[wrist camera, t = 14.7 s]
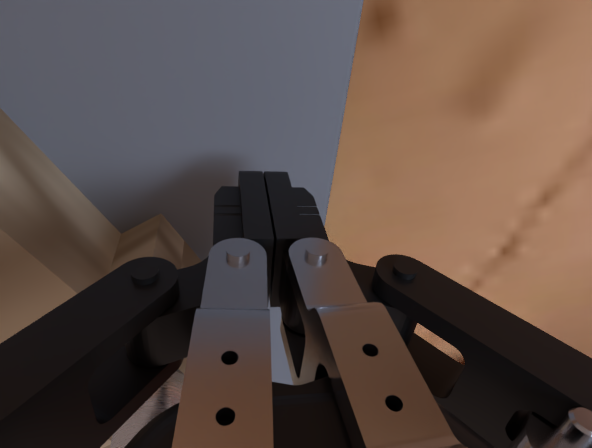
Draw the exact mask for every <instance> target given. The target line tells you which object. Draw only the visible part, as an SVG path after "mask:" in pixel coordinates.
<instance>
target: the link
mask: <svg viewBox="0 0 592 448" xmlns="http://www.w3.org/2000/svg"><path fill="white" fill-rule="evenodd" d="M142 257H159V258H163V259H166V260H168V261H170V262H171V263H173V264H174V265H175V267H176V268H177V269H181V268H186V267H189V266H193V265H195V264H198V263H199V262H201V260H200V258H199V257H198V256H197V255H196V254H195V253H194V251H193V250H192V249H191V248H190V247H189V245H188V244H187V243H186V242H185V241H184V240H183V238H182V237H181V236H180V235H179V234H178V233H177V231H176V230H175V229H174V228H173V227H172V225H171V224H170V223H169V222H168V221H167V220H166V218H165V217H164V216H163V215H162V214H159V215H157V216H155V217H153V218H151V219H149V220H147V221H145V222H143V223H141V224H139V225H138V226H136V227H134V228H132V229H130V230H128V231H126V232H124V233H122V234H121V233H120V232H119V231H118V230H117V229H116V228H115V227H114V226H113V225H112V224H111V223H110V222H109V221H108V220H107V218H106V217H105V216H104V215H103V214H102V213H101V212H100V211H99V210H98V209H97V208H96V207H95V206H94V205H93V204H92V203H91V202H90V201H89V200H88V199H87V198H86V197H85V196H84V195H83V194H82V192H81V191H80V190H79V189H78V188H77V187H76V186H75V185H74V184H73V183H72V182H71V181H70V180H69V179H68V178H67V177H66V176H65V175H64V174H63V173H62V172H61V171H60V170H59V169H58V167H57V166H56V165H55V164H54V163H53V162H52V161H51V160H50V159H49V158H48V157H47V156H46V155H45V154H44V153H43V152H42V151H41V150H40V149H39V148H38V147H37V146H36V145H35V144H34V143H33V141H32V140H31V139H30V138H29V137H28V136H27V135H26V134H25V133H24V132H23V131H22V130H21V129H20V128H19V127H18V126H17V125H16V124H15V123H14V122H13V121H12V120H11V119H10V118H9V117H8V115H7V114H6V113H5V112H4V111H3V110H2V109H1V108H0V343H2V342H4V341H5V340H7V339H8V338H10V337H11V336H13V335H14V334H16V333H17V332H19V331H21V330H22V329H24V328H25V327H27V326H28V325H30V324H31V323H33V322H35V321H36V320H38V319H39V318H41V317H42V316H44V315H45V314H47V313H48V312H50V311H52V310H53V309H55V308H56V307H58V306H59V305H61V304H62V303H64V302H65V301H67V300H69V299H70V298H72V297H73V296H75V295H76V294H78V293H79V292H81V291H82V290H84V289H86V288H87V287H89V286H90V285H92V284H93V283H95V282H96V281H98V280H100V279H101V278H103V277H104V276H106V275H107V274H109V273H110V272H112V271H113V270H115V269H117V268H118V267H120V266H121V265H123V264H125V263H126V262H128V261H131V260H133V259H137V258H142ZM186 362H187V357H186V358H184V359H183V362H182V364H181V366H180V367H179V370H180V371H181V372H182V373H183V374H185V368H186ZM111 440H112V436H111V437H110V438H109V439H108V440H107V441H106V442H105V443H104V444H103V445H102V446H101V447H100V448H110V445H111Z"/></svg>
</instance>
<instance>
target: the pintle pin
mask: <svg viewBox="0 0 592 448" xmlns="http://www.w3.org/2000/svg"><path fill="white" fill-rule="evenodd" d="M183 380H184V374H183V373H182V372H181V371H180V370H179V369H178V370H177V371H176V372H175V373H174V374H173V375H172V376H171V377H170V378H169V379H168V380H167V381H166V382H165V383H164V384H163V385H162V386H161V387H160V388H159V389H158V390H157V391H156V392H155V393H154V394H153V395H152V396H151V397H150V398H149V399H148V400H147V401H146V402H145V403H144V404H143V405H142V406H141V407H140V408H139V409H138V410H137V411H136V412H135V413H134V414H133V415H132V416H131V417H130V418H129V419H128V420H127V421H126V422H125V423H124V424H123V425H122V426H121V427H120V428H119V429H118V430H117V431H116V432H115V433H114V434H113V435H112V440H111V445H110V448H124V447H125V446H126V445H127V444H128V443H129V442H130V440H131V439H132V438H133V437H134V436H135V435H136V434H137V433H138V432H139V431H140V430H141V429H142V428H143V427H144V426H145V425H146V424H147V423H149V422H150V421H151V420H152V419H153V418H155V417H156V416H158V415H159V414H160V413H162V412H163V411H165V410H166V409H168V408H170V407H172V406H173V405H175V404H177V403H180V397H181V391H182V385H183Z"/></svg>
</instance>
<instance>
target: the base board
mask: <svg viewBox="0 0 592 448" xmlns="http://www.w3.org/2000/svg"><path fill="white" fill-rule="evenodd" d="M362 5H363V0H0V108H1V109H2V110H3V111H4V112H5V113H6V114H7V115H8V117H9V118H10V119H11V120H12V121H13V122H14V123H15V124H16V125H17V126H18V127H19V128H20V129H21V130H22V131H23V132H24V133H25V134H26V135H27V136H28V137H29V138H30V139H31V140H32V141H33V143H34V144H35V145H36V146H37V147H38V148H39V149H40V150H41V151H42V152H43V153H44V154H45V155H46V156H47V157H48V158H49V159H50V160H51V161H52V162H53V163H54V164H55V165H56V166H57V167H58V169H59V170H60V171H61V172H62V173H63V174H64V175H65V176H66V177H67V178H68V179H69V180H70V181H71V182H72V183H73V184H74V185H75V186H76V187H77V188H78V189H79V190H80V191H81V192H82V194H83V195H84V196H85V197H86V198H87V199H88V200H89V201H90V202H91V203H92V204H93V205H94V206H95V207H96V208H97V209H98V210H99V211H100V212H101V213H102V214H103V215H104V216H105V217H106V218H107V220H108V221H109V222H110V223H111V224H112V225H113V226H114V227H115V228H116V229H117V230H118V231H119V232H120V233H121V234H122V233H124V232H126V231H128V230H130V229H132V228H134V227H136V226H138V225H139V224H141V223H143V222H145V221H147V220H149V219H151V218H153V217H155V216H157V215H159V214H162V215H163V216H164V217H165V218H166V220H167V221H168V222H169V223H170V224H171V225H172V227H173V228H174V229H175V230H176V231H177V233H178V234H179V235H180V236H181V237H182V238H183V240H184V241H185V242H186V243H187V244H188V245H189V247H190V248H191V249H192V250H193V251H194V253H195V254H196V255H197V256H198V257H199V258H200V260H201V261H203V260H204V259H206V258H207V257H208V256H209V252H210V250H211V248H212V247H213V222H214V195H215V193H216V192H217V191H218V190H219V189H220V187H221V186H238V174H239V171H262V172H263V173H264V171H279V172H288V175H289V179H290V182H291V186H292V187H304V188H305V189H306V190H307V191H308V192H309V193H311V194H312V195H313V196H314V199H315V202H316V205H317V208H318V211H319V216H320V217H321V219H322V222H323V225H325V220H326V214H327V208H328V202H329V196H330V191H331V185H332V179H333V173H334V167H335V162H336V156H337V150H338V144H339V139H340V133H341V127H342V121H343V115H344V110H345V104H346V98H347V92H348V86H349V81H350V75H351V69H352V63H353V58H354V52H355V46H356V40H357V34H358V29H359V23H360V17H361V11H362ZM268 309H269V310H270V329H271V368H272V382H277V383H283V384H289V385H293V382H292V378H291V373H290V369H289V365H288V361H287V357H286V353H285V349H284V345H283V341H282V337H281V332H280V323H281V308H280V307H270V300H269V302H268Z"/></svg>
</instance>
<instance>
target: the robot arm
mask: <svg viewBox="0 0 592 448" xmlns="http://www.w3.org/2000/svg"><path fill="white" fill-rule="evenodd" d="M269 300H270V307H280V308H281V323H280V332H281V337H282V341H283V345H284V349H285V353H286V357H287V361H288V365H289V369H290V373H291V378H292V382H293V385H289V384H283V383H277V382H272V368H271V329H270V310H269V309H268V302H269ZM417 323H419V324H420V325H422V326H424V327H425V328H427V329H428V330H430V331H431V332H433V333H434V334H436V335H437V336H439V337H440V338H442V339H443V340H445V341H446V342H448V343H449V344H451V345H453V346H454V347H455V348H457V349H458V350H459V351H460V352H461V354H462V355H463V357H464V360H465V365H463V364H460V363H458V362H457V361H455V360H454V359H452V358H451V357H449V356H448V355H446V354H445V353H443V352H442V351H440V350H439V349H437V348H436V347H434V346H433V345H431V344H430V343H428V342H427V341H425V340H424V339H422V338H421V337H419V336H418V335H416V334H415V333H414V330H415V327H416V325H417ZM186 357H187V362H186V368H185V374H184V380H183V385H182V391H181V397H180V403H177V404H175V405H173V406H172V407H170V408H168V409H166V410H165V411H163V412H162V413H160V414H159V415H158V416H156V417H155V418H153V419H152V420H151V421H150V422H149V423H147V424H146V425H145V426H144V427H143V428H142V429H141V430H140V431H139V432H138V433H137V434H136V435H135V436H134V437H133V438H132V439H131V440H130V442H129V443H128V444H127V445H126V446H125V447H124V448H592V358H590V357H588V356H586V355H585V354H583V353H581V352H579V351H578V350H576V349H574V348H572V347H571V346H569V345H567V344H565V343H563V342H562V341H560V340H558V339H556V338H555V337H553V336H551V335H549V334H547V333H546V332H544V331H542V330H540V329H539V328H537V327H535V326H533V325H532V324H530V323H528V322H526V321H524V320H523V319H521V318H519V317H517V316H516V315H514V314H512V313H510V312H508V311H507V310H505V309H503V308H501V307H500V306H498V305H496V304H494V303H493V302H491V301H489V300H487V299H485V298H484V297H482V296H480V295H478V294H477V293H475V292H473V291H471V290H469V289H468V288H466V287H464V286H462V285H461V284H459V283H457V282H455V281H454V280H452V279H450V278H448V277H446V276H445V275H443V274H441V273H439V272H438V271H436V270H434V269H432V268H430V267H429V266H427V265H425V264H423V263H422V262H420V261H418V260H416V259H414V258H411V257H408V256H405V255H396V254H395V255H387V256H384V257H382V258H381V259H380V260H379V261H378V262H377V265H376V268H375V267H371V266H366V265H361V264H357V263H353V262H350V261H348V260H346V259H345V257H344V255H343V253H342V251H341V249H340V248H339V247H338V246H336V245H335V244H334V243H332V242H330V241H329V240H328V237H327V234H326V231H325V228H324V225H323V222H322V219H321V217H320V216H319V211H318V208H317V205H316V202H315V199H314V196H313V195H312V194H311V193H309V192H308V191H307V190H306V189H305V188H304V187H292V186H291V182H290V179H289V175H288V172H279V171H264V173H263V172H262V171H239V174H238V186H221V187H220V189H219V190H218V191H217V192H216V193H215V195H214V222H213V247H212V248H211V250H210V252H209V256H208V257H207V258H206V259H204V260H203V261H201V262H199V263H198V264H195V265H193V266H189V267H186V268H181V269H177V268H176V267H175V265H174V264H173V263H171V262H170V261H168V260H166V259H163V258H159V257H142V258H137V259H133V260H131V261H128V262H126V263H125V264H123V265H121V266H120V267H118V268H117V269H115V270H113V271H112V272H110V273H109V274H107V275H106V276H104V277H103V278H101V279H100V280H98V281H96V282H95V283H93V284H92V285H90V286H89V287H87V288H86V289H84V290H82V291H81V292H79V293H78V294H76V295H75V296H73V297H72V298H70V299H69V300H67V301H65V302H64V303H62V304H61V305H59V306H58V307H56V308H55V309H53V310H52V311H50V312H48V313H47V314H45V315H44V316H42V317H41V318H39V319H38V320H36V321H35V322H33V323H31V324H30V325H28V326H27V327H25V328H24V329H22V330H21V331H19V332H17V333H16V334H14V335H13V336H11V337H10V338H8V339H7V340H5V341H4V342H2V343H0V448H100V447H101V446H102V445H103V444H104V443H105V442H106V441H107V440H108V439H109V438H110V437H111V436H112V435H113V434H114V433H115V432H116V431H117V430H118V429H119V428H120V427H121V426H122V425H123V424H124V423H125V422H126V421H127V420H128V419H129V418H130V417H131V416H132V415H133V414H134V413H135V412H136V411H137V410H138V409H139V408H140V407H141V406H142V405H143V404H144V403H145V402H146V401H147V400H148V399H149V398H150V397H151V396H152V395H153V394H154V393H155V392H156V391H157V390H158V389H159V388H160V387H161V386H162V385H163V384H164V383H165V382H166V381H167V380H168V379H169V378H170V377H171V376H172V375H173V374H174V373H175V372H176V371H177V370H178V369H179V367H180V366H181V364H182V362H183V359H184V358H186Z"/></svg>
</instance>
